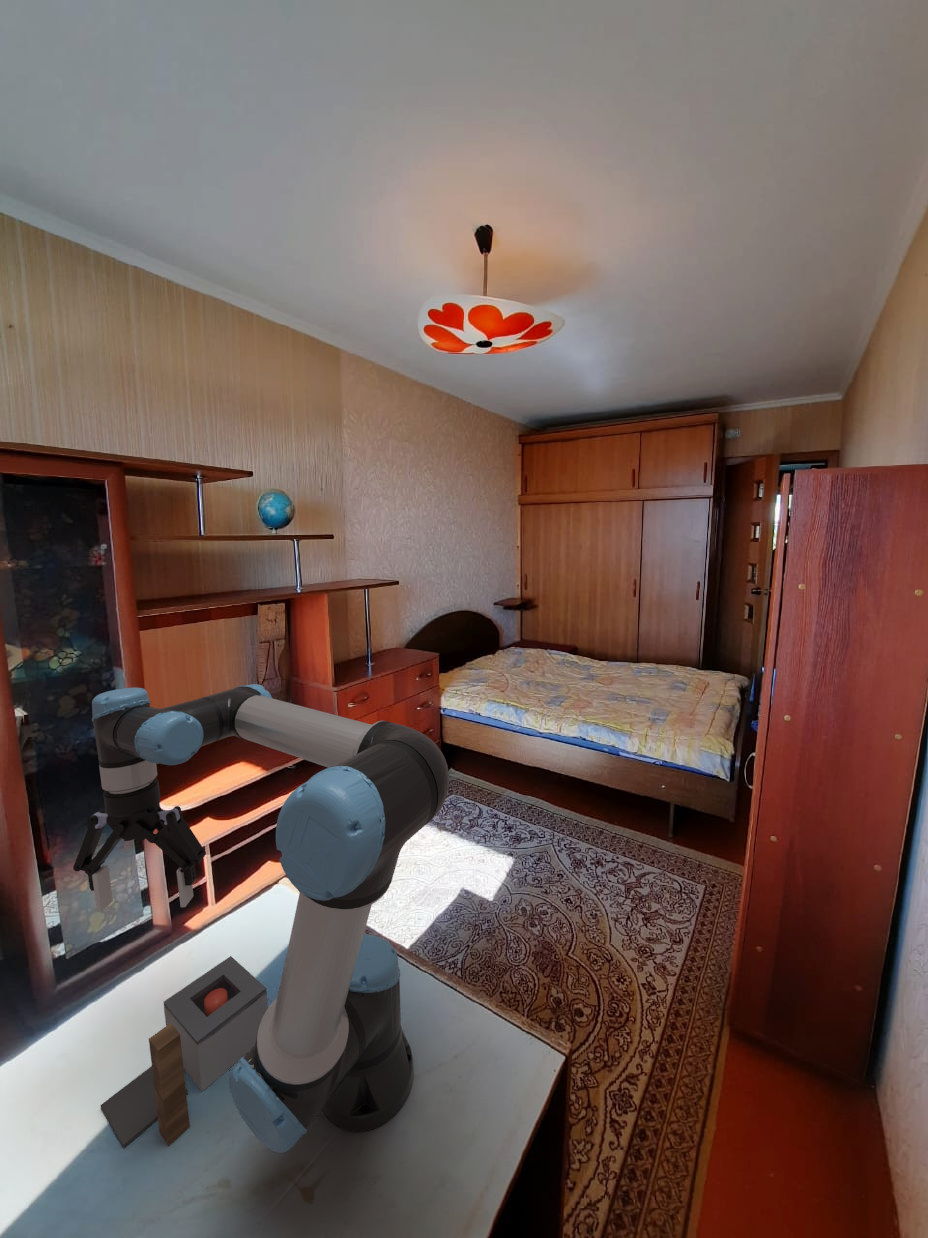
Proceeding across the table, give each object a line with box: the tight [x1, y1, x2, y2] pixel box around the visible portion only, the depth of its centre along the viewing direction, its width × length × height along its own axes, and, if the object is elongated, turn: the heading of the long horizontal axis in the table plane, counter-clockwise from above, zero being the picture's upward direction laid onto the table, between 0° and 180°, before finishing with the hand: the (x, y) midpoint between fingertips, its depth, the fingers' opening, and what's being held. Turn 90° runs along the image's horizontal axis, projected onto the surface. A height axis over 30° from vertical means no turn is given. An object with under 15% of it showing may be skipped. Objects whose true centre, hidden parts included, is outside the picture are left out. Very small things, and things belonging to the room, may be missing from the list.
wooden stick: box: [148, 1023, 191, 1147], centre depth 73 cm, size 3×3×16 cm
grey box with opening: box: [162, 955, 269, 1092], centre depth 87 cm, size 12×12×9 cm
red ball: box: [204, 988, 228, 1017], centre depth 87 cm, size 4×4×4 cm
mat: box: [100, 1065, 189, 1149], centre depth 78 cm, size 9×9×1 cm
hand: (146, 904), depth 83 cm, fingers open, 13 cm apart
